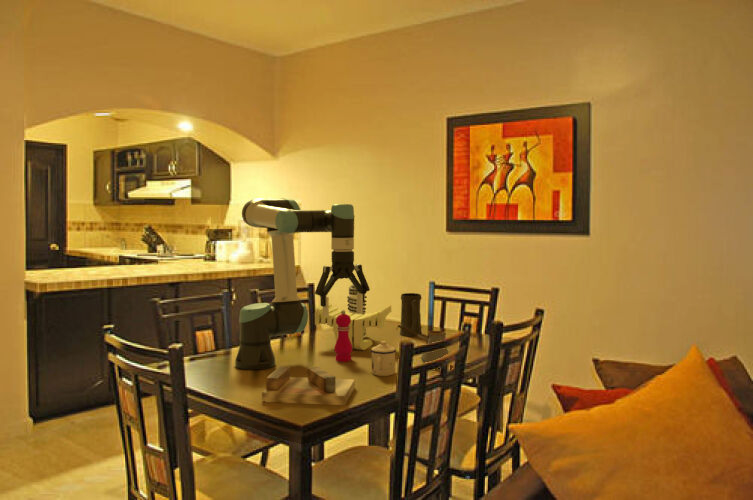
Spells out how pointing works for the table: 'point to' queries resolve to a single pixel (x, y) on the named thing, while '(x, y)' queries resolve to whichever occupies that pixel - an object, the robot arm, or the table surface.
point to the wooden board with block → (304, 390)
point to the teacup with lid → (383, 359)
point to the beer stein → (410, 314)
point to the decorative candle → (354, 302)
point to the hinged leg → (322, 379)
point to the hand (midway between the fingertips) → (343, 314)
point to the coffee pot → (433, 337)
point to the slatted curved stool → (353, 324)
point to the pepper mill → (343, 338)
